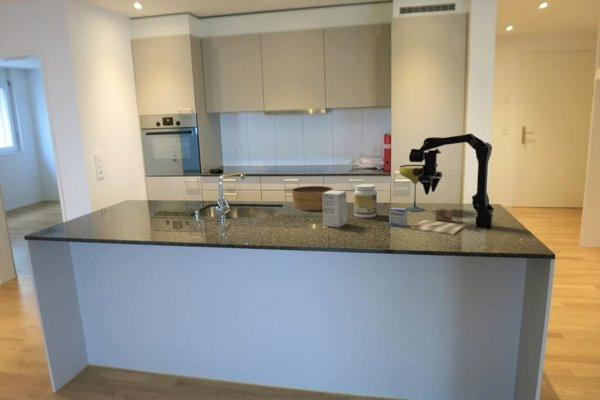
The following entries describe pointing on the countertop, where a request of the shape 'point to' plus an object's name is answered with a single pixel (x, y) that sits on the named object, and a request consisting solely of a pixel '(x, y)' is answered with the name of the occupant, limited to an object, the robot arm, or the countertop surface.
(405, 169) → the cocktail glass
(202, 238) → the countertop surface
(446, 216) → the block
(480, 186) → the robot arm
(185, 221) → the countertop surface
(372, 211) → the supplement tub
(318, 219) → the countertop surface
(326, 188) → the steamer basket
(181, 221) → the countertop surface
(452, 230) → the birch board
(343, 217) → the supplement box
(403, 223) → the medicine box
